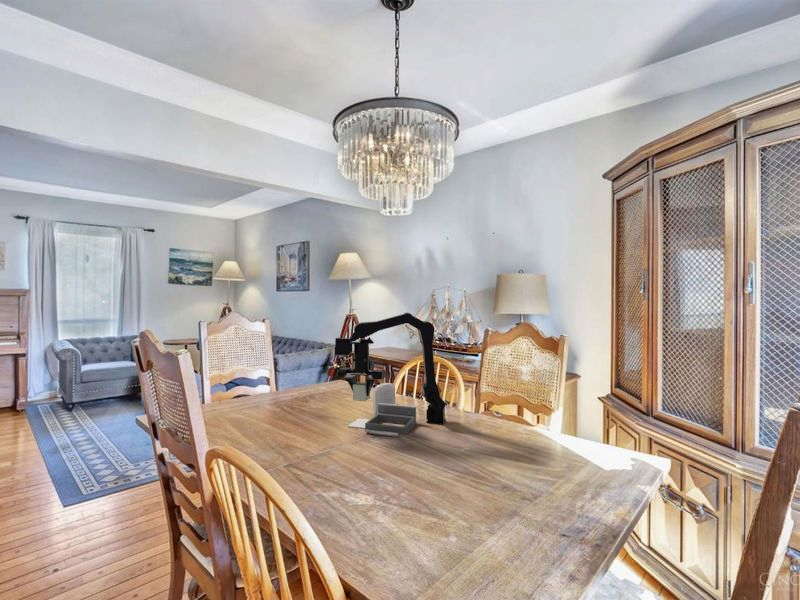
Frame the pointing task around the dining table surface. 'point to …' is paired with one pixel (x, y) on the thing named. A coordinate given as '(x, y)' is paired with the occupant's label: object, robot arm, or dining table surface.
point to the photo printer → (384, 395)
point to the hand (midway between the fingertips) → (361, 395)
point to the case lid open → (397, 409)
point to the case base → (389, 428)
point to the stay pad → (359, 423)
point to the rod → (382, 433)
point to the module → (360, 392)
